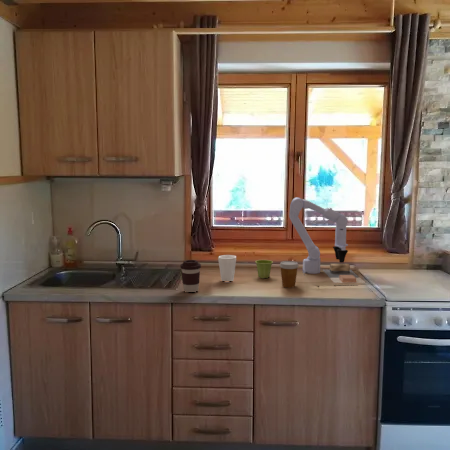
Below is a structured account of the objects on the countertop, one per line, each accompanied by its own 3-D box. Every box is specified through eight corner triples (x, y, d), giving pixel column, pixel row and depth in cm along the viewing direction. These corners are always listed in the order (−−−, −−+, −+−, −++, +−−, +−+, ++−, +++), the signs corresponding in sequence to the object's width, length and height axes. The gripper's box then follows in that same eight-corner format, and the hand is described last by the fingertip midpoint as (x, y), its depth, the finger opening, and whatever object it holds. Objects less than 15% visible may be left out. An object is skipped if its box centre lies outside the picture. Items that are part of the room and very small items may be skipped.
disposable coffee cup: (287, 282, 245) (287, 260, 243) (302, 286, 238) (302, 262, 236) (275, 286, 238) (275, 262, 236) (290, 289, 231) (290, 266, 230)
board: (333, 285, 238) (334, 282, 238) (322, 272, 266) (322, 269, 266) (365, 285, 238) (365, 282, 238) (350, 271, 266) (350, 269, 266)
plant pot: (260, 274, 262) (261, 259, 261) (275, 276, 257) (275, 261, 256) (252, 277, 255) (252, 262, 254) (267, 280, 249) (267, 264, 248)
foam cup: (215, 282, 246) (215, 257, 245) (222, 277, 255) (222, 254, 253) (232, 283, 243) (232, 259, 241) (238, 279, 251) (238, 255, 250)
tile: (342, 282, 239) (342, 278, 239) (339, 278, 246) (339, 275, 245) (356, 282, 239) (356, 278, 239) (352, 278, 246) (352, 274, 246)
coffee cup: (182, 288, 235) (181, 259, 233) (201, 288, 235) (201, 259, 233) (179, 294, 225) (179, 263, 223) (200, 294, 225) (199, 263, 223)
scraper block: (331, 273, 257) (331, 265, 256) (329, 271, 261) (329, 263, 260) (349, 273, 257) (349, 265, 256) (347, 271, 261) (348, 263, 260)
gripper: (351, 238, 249) (350, 263, 251) (344, 234, 263) (343, 257, 265) (338, 238, 249) (337, 263, 251) (332, 234, 263) (331, 258, 265)
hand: (339, 260), depth 258 cm, fingers open, 7 cm apart
